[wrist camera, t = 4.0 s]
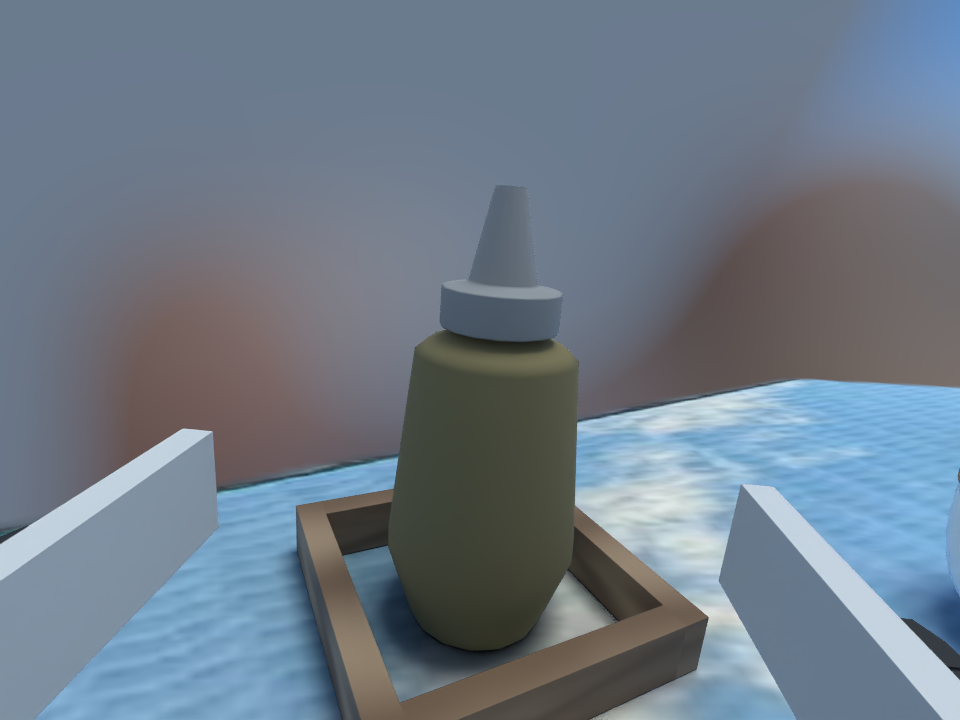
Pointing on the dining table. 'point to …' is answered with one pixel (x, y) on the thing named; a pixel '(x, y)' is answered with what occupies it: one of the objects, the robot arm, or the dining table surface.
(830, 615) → the robot arm
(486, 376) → the squeeze bottle
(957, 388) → the dining table surface
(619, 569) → the wooden frame
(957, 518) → the lidded jar
